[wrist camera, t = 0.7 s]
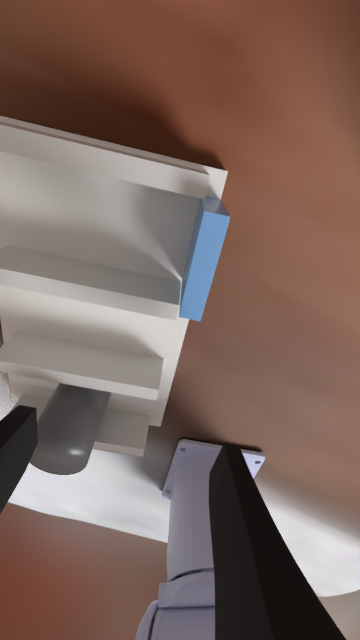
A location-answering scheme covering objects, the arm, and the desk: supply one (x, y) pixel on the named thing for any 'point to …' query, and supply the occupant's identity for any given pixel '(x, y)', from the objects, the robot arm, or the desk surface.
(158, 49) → the desk surface
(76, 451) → the plug
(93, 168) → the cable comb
